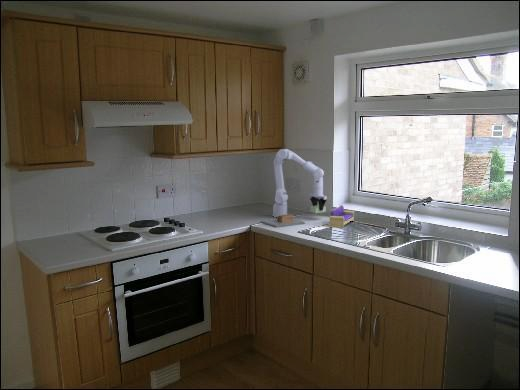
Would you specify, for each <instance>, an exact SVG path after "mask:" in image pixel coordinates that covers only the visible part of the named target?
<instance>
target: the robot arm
mask: <svg viewBox="0 0 520 390" xmlns="http://www.w3.org/2000/svg"><path fill="white" fill-rule="evenodd" d="M286 160H293V161H295V162H296V163H297V164H299V165H301V166H303V167H302V168H303V170H305V171H306V172H308V173H309V174H310V175H312V177H313V193H309V197H310V198H309V199H310V201H311V206H319V210H323V207H324V206H325V205H326V202H327V199H328V196H326V195H324V176H325V171H324V170H323V169H322V168H321V167H319V166H316V165H315V164H314V163H313V161H306V160H304V159H303V158H301V157H300V156H299V155H298V154H296V153H295V152H294V151H293V150H290V149H288V148H284V149H283V148H282V149H279V150H278V151H277V152H276V154H275V157H274V159H273V171H274V180H275V189H276V190H275V192H274V193H275V194H274V195H275V196H274V202H275V203H274V204H273V205H272V216H274V217H273V218H276V217H277V215H286V214H288V200H289V196H288V194H287V190H286V187H285V180H284V171H283V163H284V162H285V161H286Z"/></svg>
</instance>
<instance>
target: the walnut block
mask: <svg viewBox="0 0 520 390" xmlns="http://www.w3.org/2000/svg"><path fill="white" fill-rule="evenodd" d="M276 219H277V221H278V222H282V223H284V222H291V221H293V219H294V215H292V214H289V213H287V214H286V215H277V218H276Z"/></svg>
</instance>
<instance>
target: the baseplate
mask: <svg viewBox="0 0 520 390" xmlns="http://www.w3.org/2000/svg"><path fill="white" fill-rule="evenodd" d="M260 223H261V224H264V223H265V224H264V225H267V226H270V227H273V228H283V227H289V226H290V227H291V226H297V225H298V226H299V225H304V224H305V221H303V220H299V219H296V218H293V221H291V222H284V223H282V222H278V221H277V218H270V219H262V220H260Z"/></svg>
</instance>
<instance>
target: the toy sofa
mask: <svg viewBox="0 0 520 390" xmlns="http://www.w3.org/2000/svg"><path fill="white" fill-rule="evenodd" d="M329 214H330V215H329V227H330V228H338V229H344V228H345V225H347V224H348V223H351V222H350V221H355V211H353V210H344V205H341V204H340V205H339V206H338V207H336V208H334V209H330V210H329Z"/></svg>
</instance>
